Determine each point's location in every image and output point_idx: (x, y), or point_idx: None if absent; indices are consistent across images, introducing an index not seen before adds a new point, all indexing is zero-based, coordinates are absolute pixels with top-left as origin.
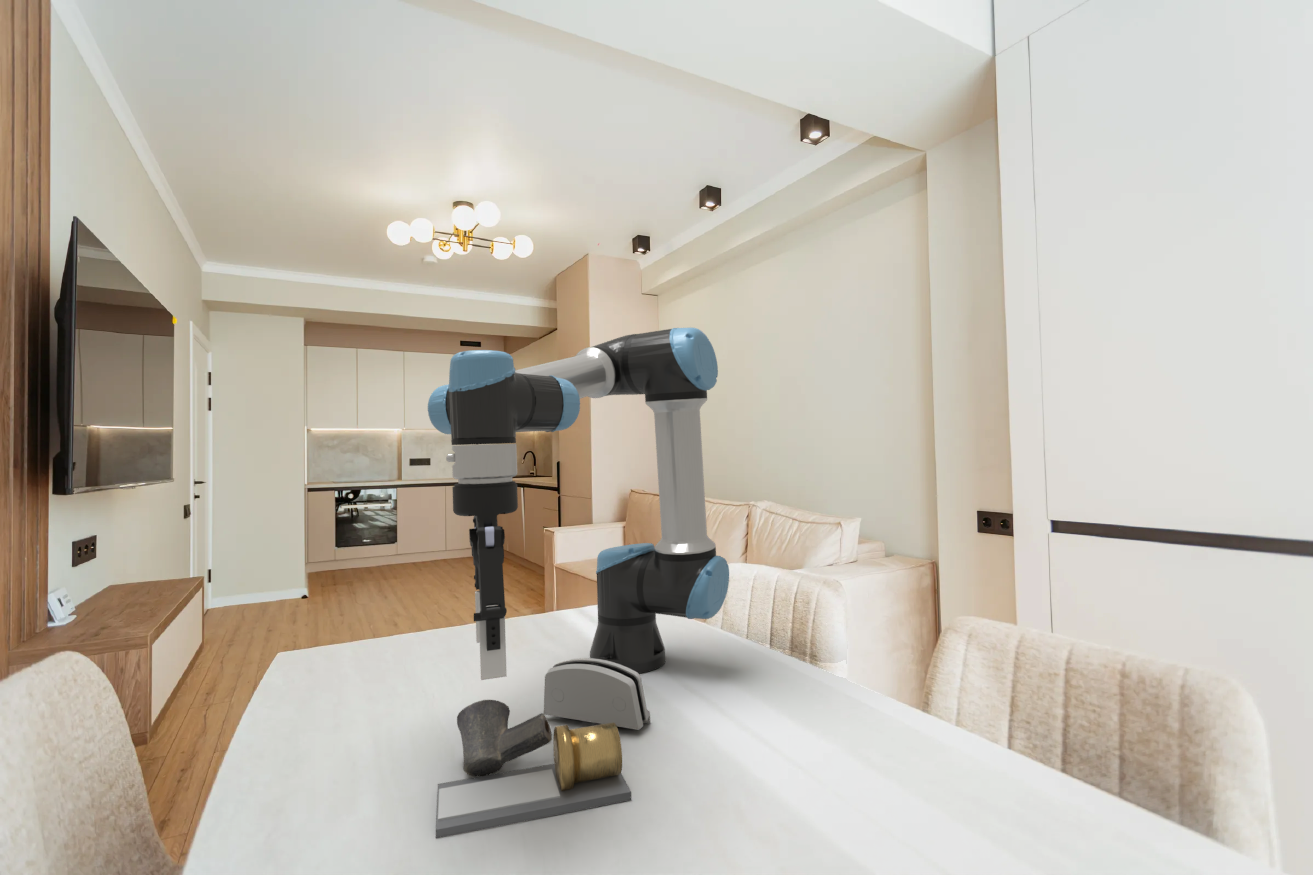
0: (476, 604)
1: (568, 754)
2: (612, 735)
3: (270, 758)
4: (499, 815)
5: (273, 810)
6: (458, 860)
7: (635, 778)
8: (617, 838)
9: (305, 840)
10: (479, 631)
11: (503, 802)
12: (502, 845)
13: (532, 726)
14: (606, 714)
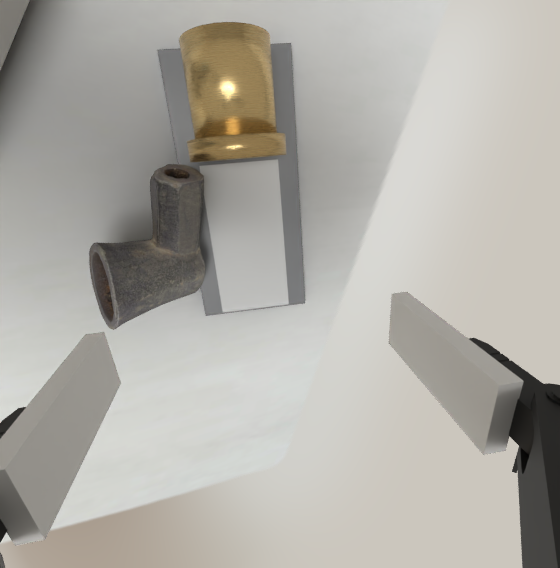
0: (70, 482)
1: (282, 142)
2: (253, 41)
3: (92, 493)
4: (297, 238)
5: (209, 449)
6: (345, 273)
7: (227, 21)
8: (367, 91)
9: (270, 407)
10: (455, 419)
11: (274, 234)
12: (335, 231)
13: (186, 202)
14: (6, 21)
